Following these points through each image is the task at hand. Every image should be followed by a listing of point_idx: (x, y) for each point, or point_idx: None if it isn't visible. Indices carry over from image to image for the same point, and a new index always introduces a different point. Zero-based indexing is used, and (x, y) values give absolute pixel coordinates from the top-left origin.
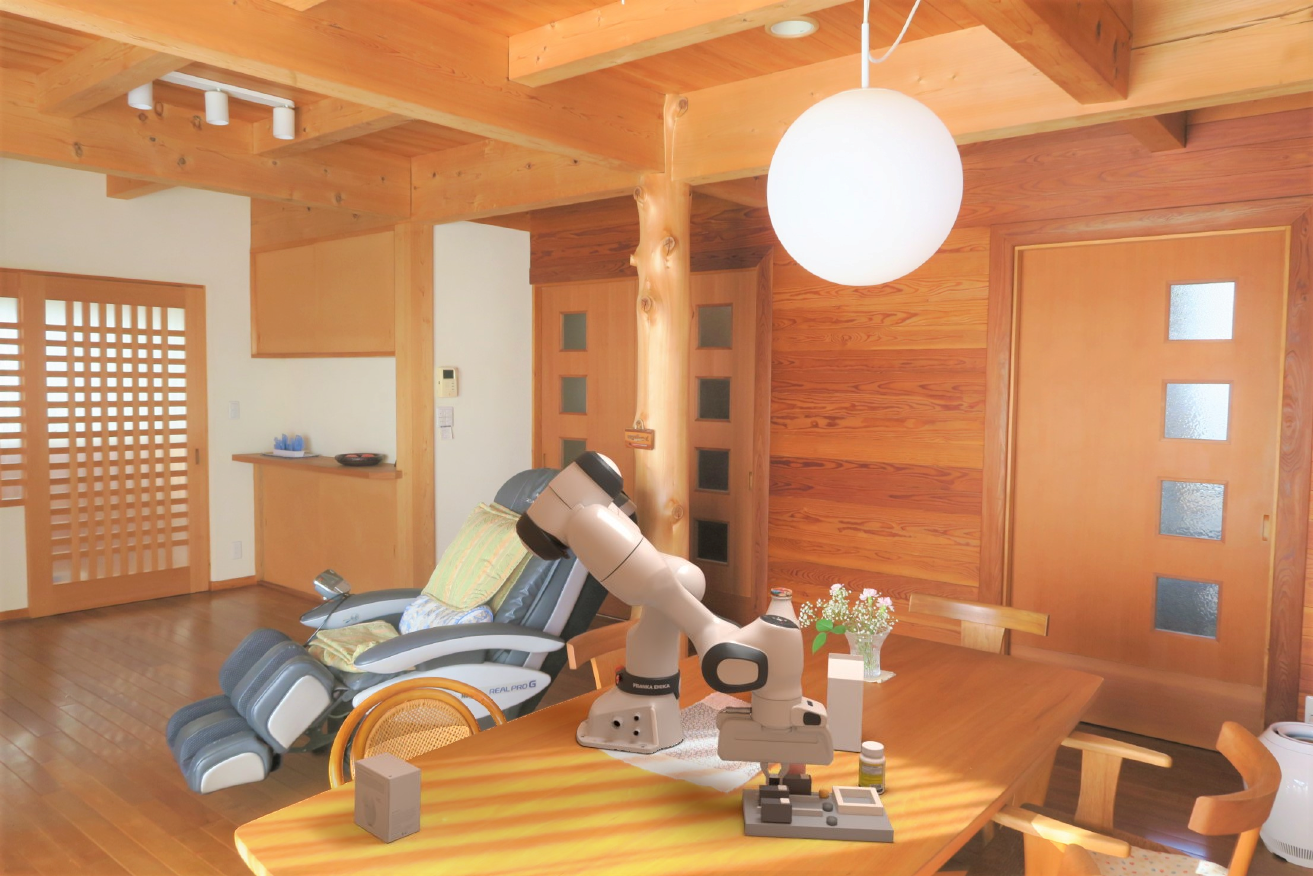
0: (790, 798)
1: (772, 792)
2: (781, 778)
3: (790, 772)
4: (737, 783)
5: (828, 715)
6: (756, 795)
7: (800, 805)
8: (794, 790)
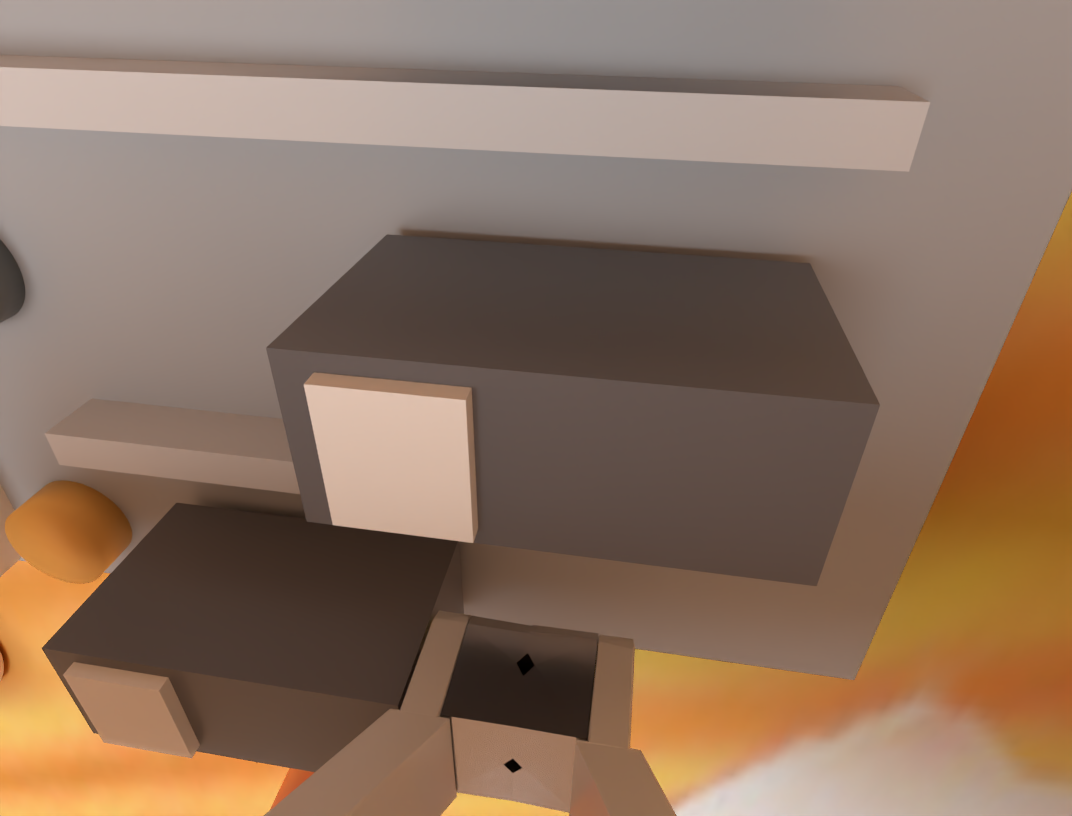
0: None
1: (600, 356)
2: (415, 707)
3: None
4: (786, 777)
5: None
6: None
7: (264, 348)
8: (312, 564)
